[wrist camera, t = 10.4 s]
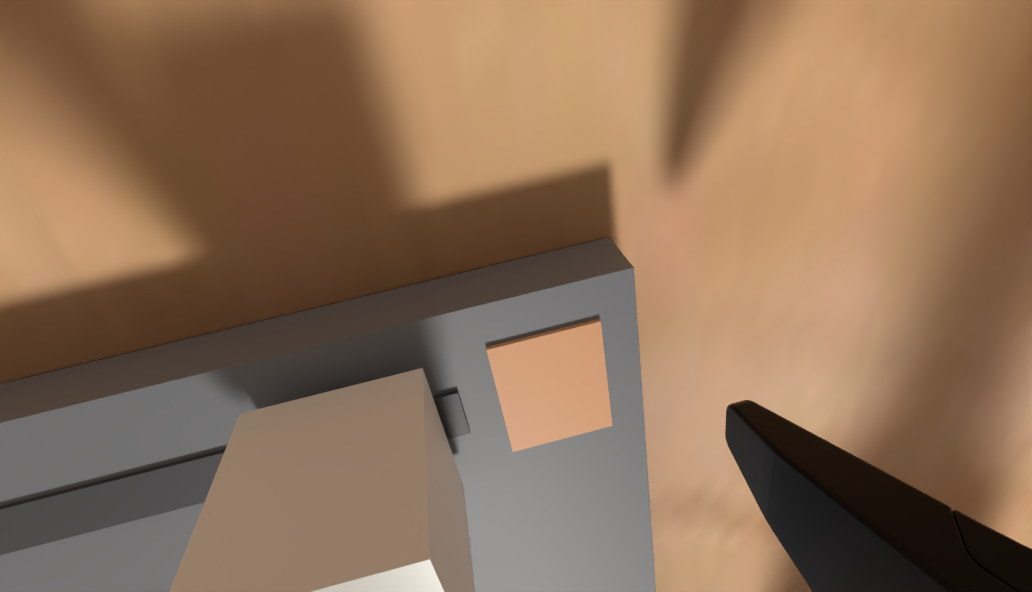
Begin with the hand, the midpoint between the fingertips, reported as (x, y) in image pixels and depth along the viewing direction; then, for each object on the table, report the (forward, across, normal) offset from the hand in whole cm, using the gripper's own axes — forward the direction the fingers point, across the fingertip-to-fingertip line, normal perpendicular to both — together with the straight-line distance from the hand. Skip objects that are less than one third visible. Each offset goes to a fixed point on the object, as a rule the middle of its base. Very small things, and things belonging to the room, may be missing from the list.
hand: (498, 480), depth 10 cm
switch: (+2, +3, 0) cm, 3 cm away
